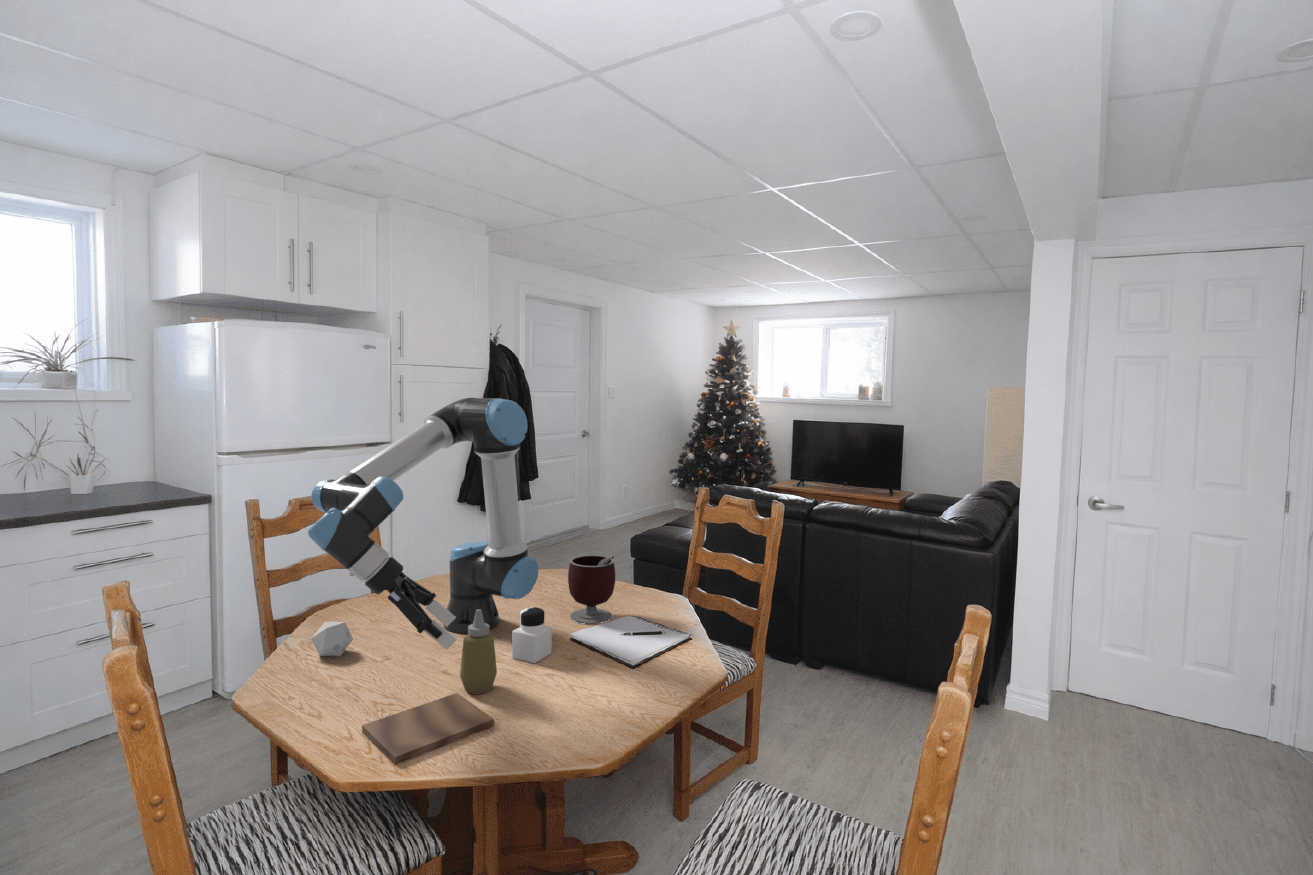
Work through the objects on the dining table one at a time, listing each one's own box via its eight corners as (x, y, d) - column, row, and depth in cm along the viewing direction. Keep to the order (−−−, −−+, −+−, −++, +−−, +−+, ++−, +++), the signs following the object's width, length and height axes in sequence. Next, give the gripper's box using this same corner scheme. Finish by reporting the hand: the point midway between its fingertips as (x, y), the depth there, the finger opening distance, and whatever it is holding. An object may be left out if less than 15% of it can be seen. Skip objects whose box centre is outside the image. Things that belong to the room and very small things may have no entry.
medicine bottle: (551, 653, 166) (552, 607, 165) (535, 664, 160) (535, 616, 159) (528, 648, 169) (529, 603, 168) (511, 658, 163) (511, 611, 162)
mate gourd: (557, 617, 192) (558, 550, 191) (591, 606, 203) (592, 542, 201) (594, 630, 182) (595, 560, 181) (628, 618, 193) (629, 552, 191)
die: (325, 666, 157) (351, 631, 159) (297, 646, 158) (324, 611, 160) (340, 665, 164) (365, 631, 167) (314, 645, 166) (339, 612, 168)
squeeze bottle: (463, 680, 150) (464, 604, 148) (499, 680, 150) (500, 604, 149) (456, 697, 142) (456, 616, 140) (493, 696, 142) (494, 616, 141)
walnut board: (457, 699, 141) (457, 692, 140) (494, 725, 130) (494, 718, 130) (362, 732, 126) (362, 725, 126) (394, 765, 116) (394, 757, 116)
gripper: (370, 566, 148) (439, 625, 154) (355, 601, 124) (437, 669, 130) (395, 542, 149) (462, 601, 155) (385, 572, 125) (465, 641, 131)
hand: (451, 632), depth 142 cm, fingers open, 13 cm apart
